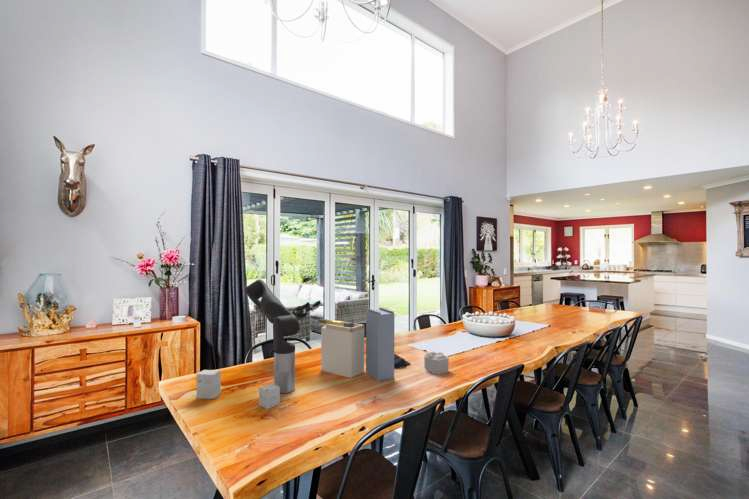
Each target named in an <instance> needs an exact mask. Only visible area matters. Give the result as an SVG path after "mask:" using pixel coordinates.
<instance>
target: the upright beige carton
mask: <svg viewBox="0 0 749 499" xmlns="http://www.w3.org/2000/svg"><path fill="white" fill-rule="evenodd" d="M339 321H340V322H344V321H341V320H339ZM320 331H321V337H320V338H321V340H320V342H321V343H320V344H321V345H320V346H321V348H320V349H321V353H320V354H321V356H320V357H321V358H320V359H321V360H320V362H321V363H320V365H321V366H320V367H321V371H322V372H326V373H330V374H334V375H338V376H342V377H346V378H350V379H352V378H354V377H356V375H357V376H358V375H360V374H363V373H365V324H362V323H355V322H354V327H352V328H349V327H343V326H336V325H330V324H326V325H324V326H322V327H321V329H320Z"/></svg>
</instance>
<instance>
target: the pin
mask: <svg viewBox="0 0 749 499" xmlns="http://www.w3.org/2000/svg"><path fill="white" fill-rule="evenodd" d="M340 321H341V320H332V319H326V318H319V319H318V320H317V324H318V325H321V326H326V324H330V325H336V326H343V327H349V328H352V327H354V323H355V322H352V321H343V322H340Z"/></svg>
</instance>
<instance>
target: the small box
mask: <svg viewBox="0 0 749 499" xmlns="http://www.w3.org/2000/svg"><path fill="white" fill-rule="evenodd" d="M195 375H196V377H195V378H196V390H195V391H196V399H198V400H199V399H201V400H214V399H216V398H217V397H219V396H220V395H221V394H222V391H221V390H222V388H221V381H222V380H221V377H222V376H221V370H219V369H218V370H217V369H203V370H201V371H199V372H197V373H196V374H195Z"/></svg>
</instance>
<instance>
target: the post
mask: <svg viewBox="0 0 749 499" xmlns="http://www.w3.org/2000/svg"><path fill="white" fill-rule="evenodd" d="M365 322H366V323H365V331H366V332H365V373H366V374H368V375H369V376H370V377H371V378H373V379H374V380H376V381H377V382H381V381H387V380H391V379H395V368H394V354H395V313H394V311H393V310H391V309H386V308H384V307H379V308H378V309H372V308H366V310H365Z"/></svg>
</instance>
